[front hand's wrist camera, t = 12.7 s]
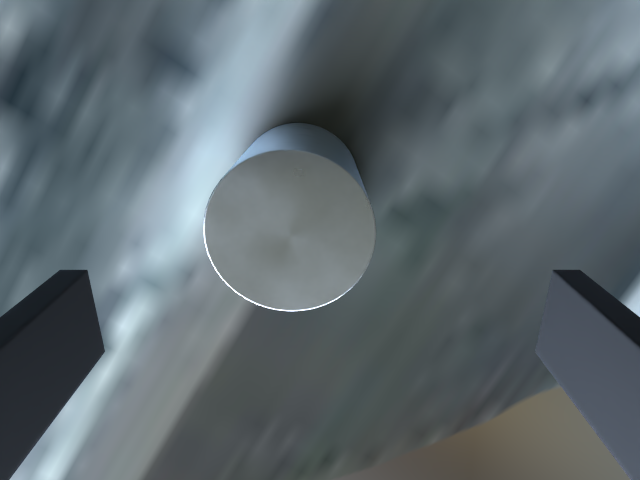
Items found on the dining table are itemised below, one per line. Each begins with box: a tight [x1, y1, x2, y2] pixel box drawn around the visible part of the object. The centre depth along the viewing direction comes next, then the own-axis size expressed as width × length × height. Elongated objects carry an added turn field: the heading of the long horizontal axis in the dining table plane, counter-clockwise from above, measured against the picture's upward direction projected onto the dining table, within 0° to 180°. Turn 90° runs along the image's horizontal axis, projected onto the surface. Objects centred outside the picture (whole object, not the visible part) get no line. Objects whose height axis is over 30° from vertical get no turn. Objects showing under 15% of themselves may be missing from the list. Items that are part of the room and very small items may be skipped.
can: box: [203, 123, 376, 311], centre depth 28 cm, size 9×9×11 cm
